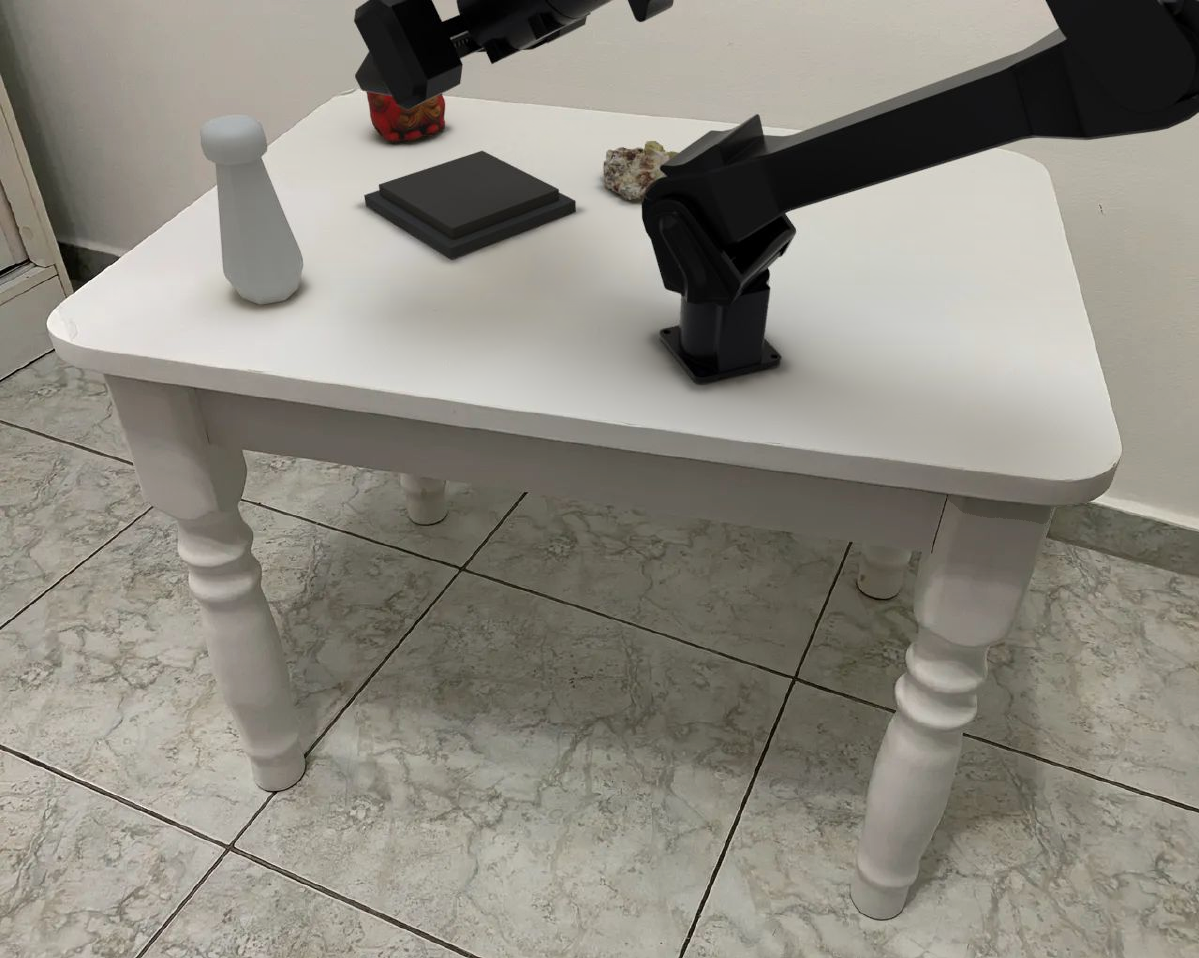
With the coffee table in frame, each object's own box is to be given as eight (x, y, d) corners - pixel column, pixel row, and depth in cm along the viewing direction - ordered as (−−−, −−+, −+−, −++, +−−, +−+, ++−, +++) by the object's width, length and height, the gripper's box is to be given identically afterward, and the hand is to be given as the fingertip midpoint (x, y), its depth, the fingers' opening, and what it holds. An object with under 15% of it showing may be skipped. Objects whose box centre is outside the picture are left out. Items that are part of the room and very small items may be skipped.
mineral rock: (586, 173, 87) (614, 117, 91) (589, 213, 90) (617, 156, 94) (707, 194, 84) (731, 135, 88) (705, 234, 88) (728, 175, 92)
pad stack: (576, 211, 86) (575, 189, 85) (451, 259, 80) (449, 236, 79) (486, 165, 94) (484, 144, 93) (365, 205, 87) (361, 183, 86)
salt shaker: (216, 290, 76) (168, 120, 68) (282, 264, 79) (244, 99, 71) (256, 319, 73) (211, 144, 65) (323, 290, 76) (289, 120, 68)
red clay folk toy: (396, 152, 96) (373, -17, 86) (356, 131, 100) (330, -33, 90) (460, 131, 100) (445, -33, 90) (420, 112, 104) (401, -47, 94)
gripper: (588, -193, 63) (434, -80, 74) (390, -150, 51) (240, -22, 62) (659, -15, 67) (503, 68, 78) (490, 64, 55) (333, 149, 66)
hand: (404, 63), depth 71 cm, fingers open, 9 cm apart
